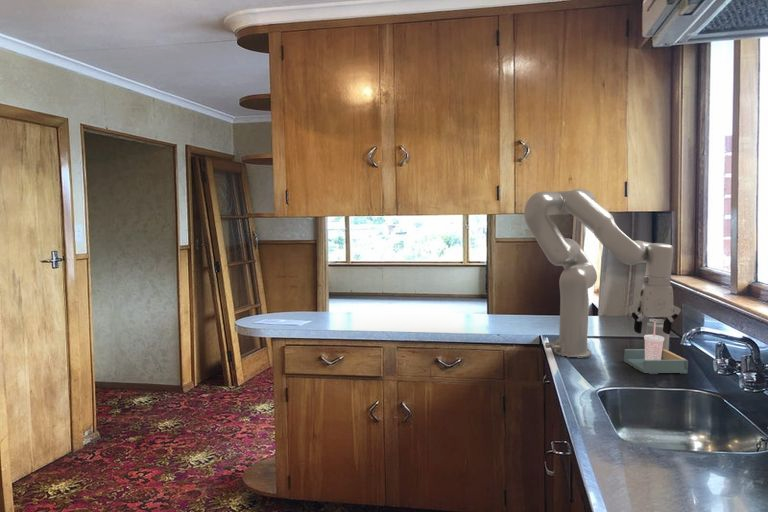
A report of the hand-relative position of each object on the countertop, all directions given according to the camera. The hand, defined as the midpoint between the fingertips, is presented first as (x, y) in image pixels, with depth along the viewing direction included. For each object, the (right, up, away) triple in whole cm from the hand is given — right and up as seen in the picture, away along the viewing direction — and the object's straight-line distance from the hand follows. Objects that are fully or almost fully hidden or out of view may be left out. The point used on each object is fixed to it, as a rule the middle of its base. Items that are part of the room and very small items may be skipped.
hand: (651, 332), depth 192 cm
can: (+10, -10, +18) cm, 23 cm away
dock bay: (+1, -11, +1) cm, 11 cm away
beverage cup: (0, -10, +1) cm, 10 cm away
